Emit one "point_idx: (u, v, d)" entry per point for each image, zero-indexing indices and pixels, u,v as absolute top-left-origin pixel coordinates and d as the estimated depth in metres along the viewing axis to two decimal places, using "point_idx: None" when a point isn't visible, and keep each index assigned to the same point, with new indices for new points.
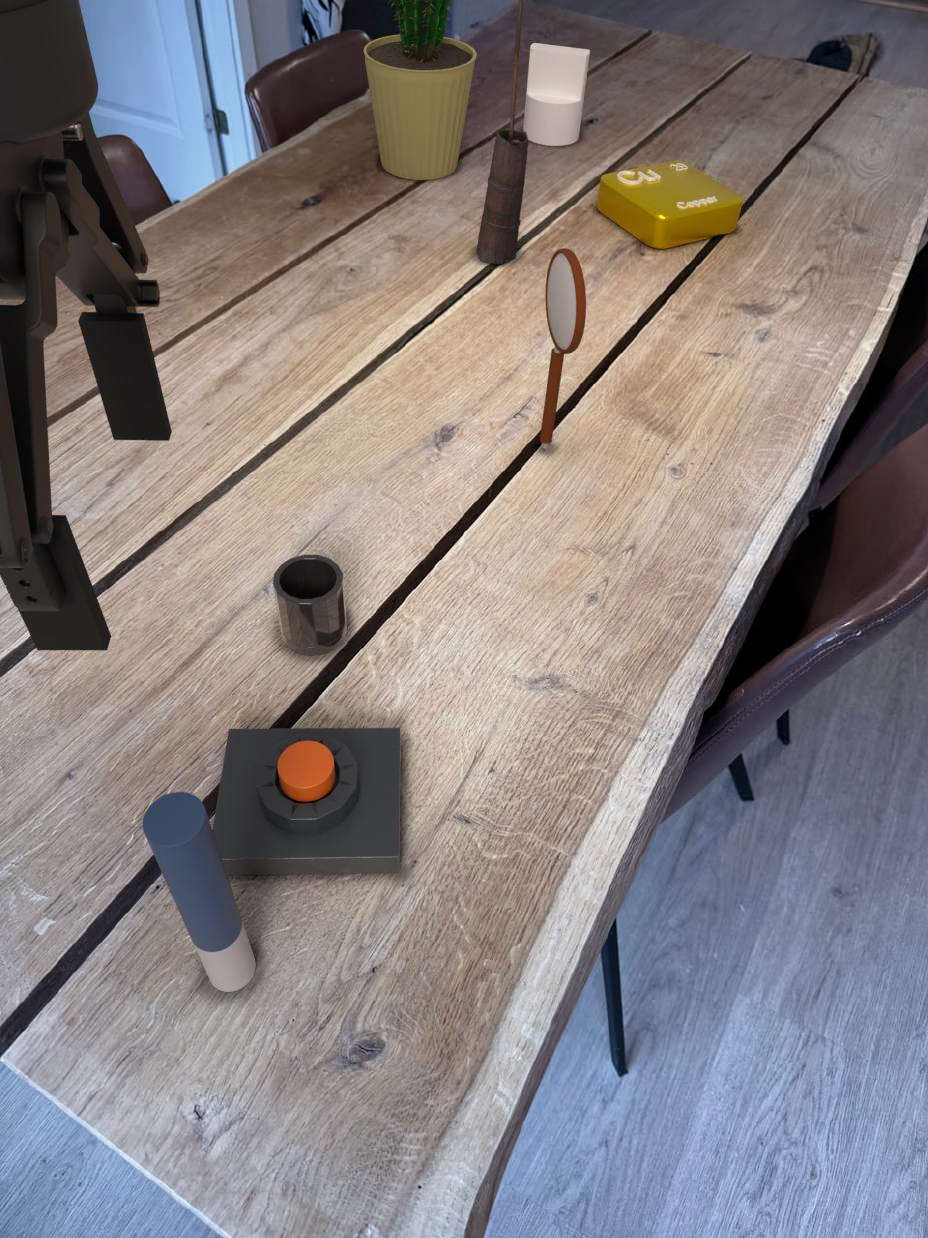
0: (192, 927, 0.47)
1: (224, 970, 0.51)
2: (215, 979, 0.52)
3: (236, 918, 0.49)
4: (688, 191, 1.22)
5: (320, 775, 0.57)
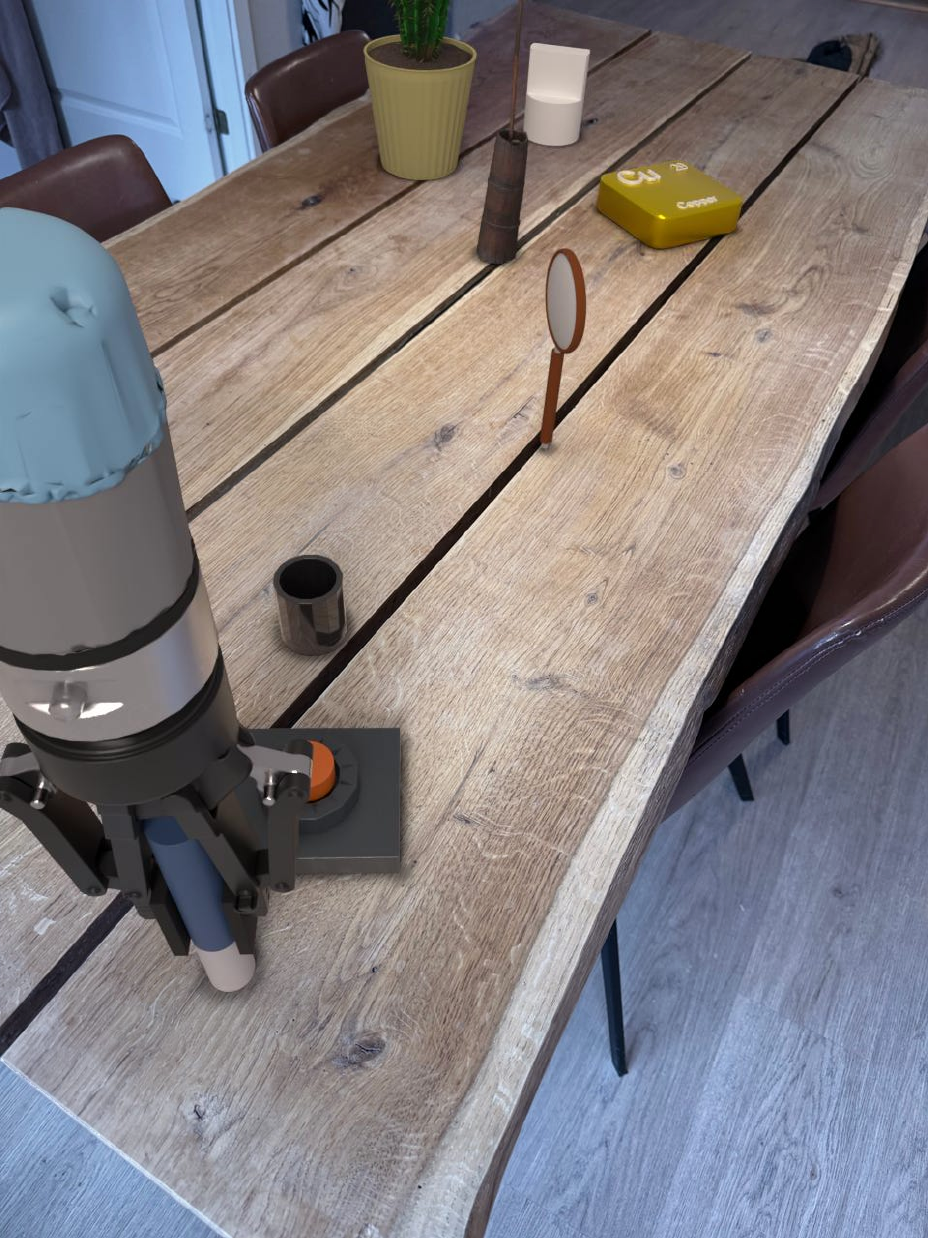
0: (192, 927, 0.47)
1: (224, 970, 0.51)
2: (215, 979, 0.52)
3: None
4: (688, 191, 1.22)
5: (320, 775, 0.57)
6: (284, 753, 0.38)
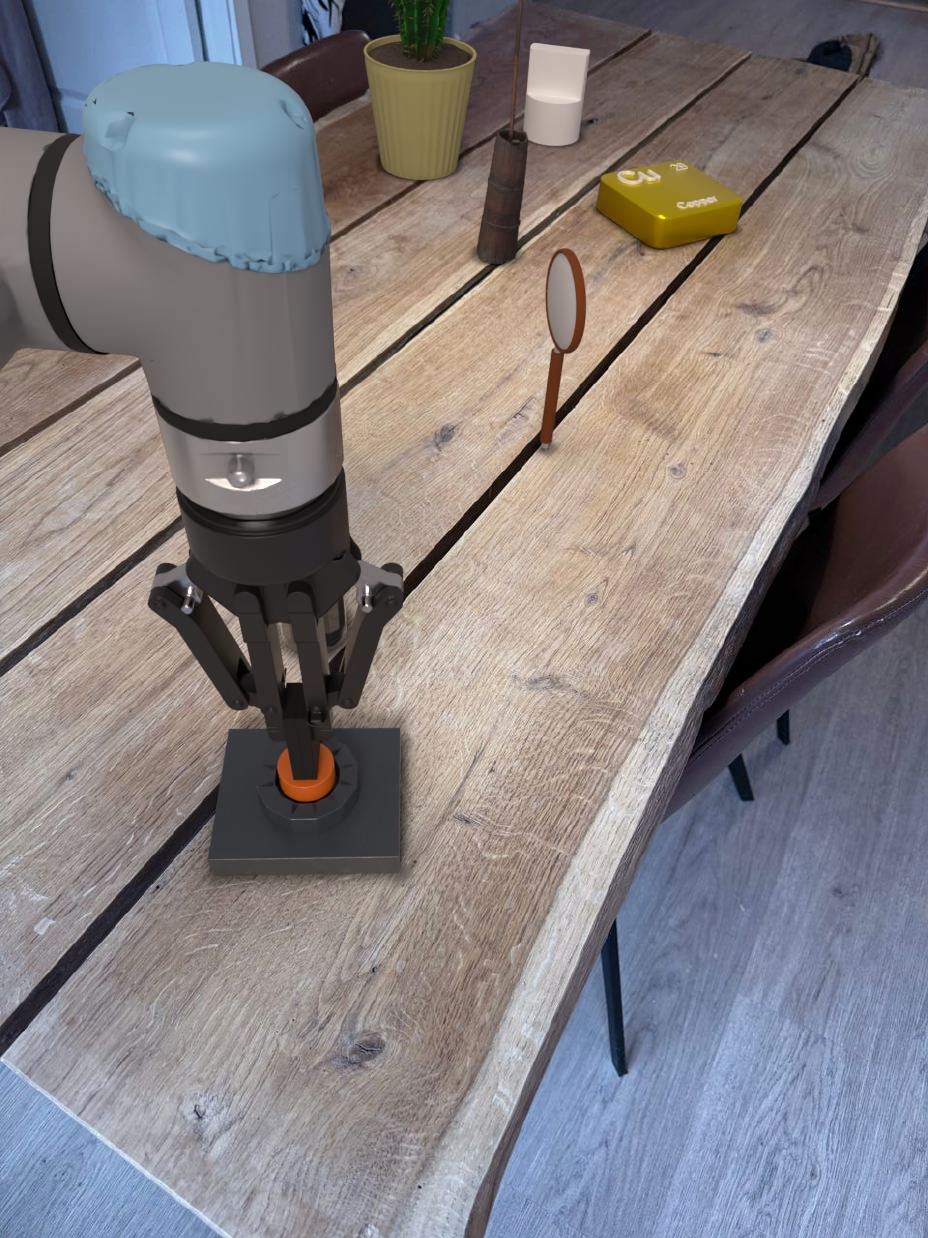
0: None
1: None
2: None
3: None
4: (688, 191, 1.22)
5: (320, 775, 0.57)
6: (383, 570, 0.46)
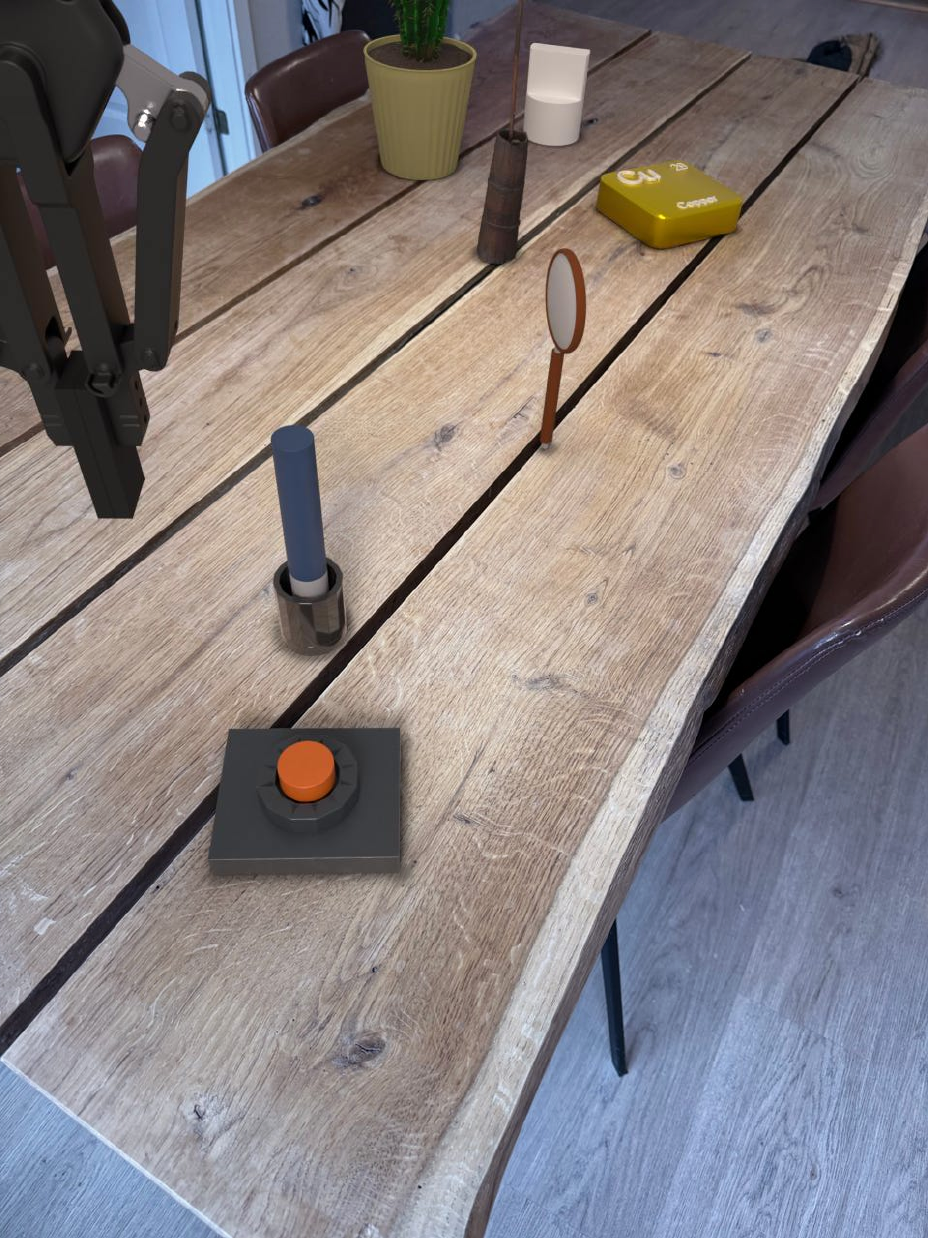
0: (294, 551, 0.64)
1: None
2: None
3: (324, 554, 0.66)
4: (688, 191, 1.22)
5: (320, 775, 0.57)
6: (170, 71, 0.28)
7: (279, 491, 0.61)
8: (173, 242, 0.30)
